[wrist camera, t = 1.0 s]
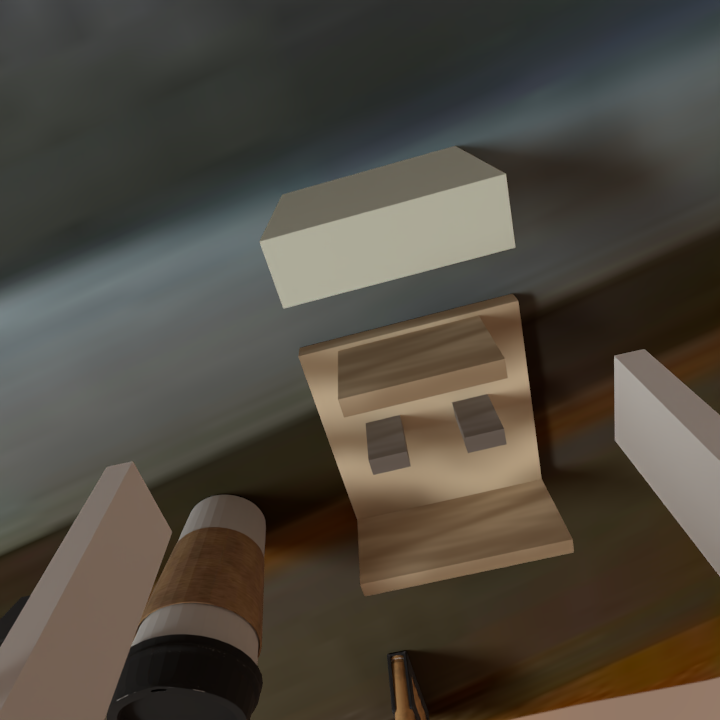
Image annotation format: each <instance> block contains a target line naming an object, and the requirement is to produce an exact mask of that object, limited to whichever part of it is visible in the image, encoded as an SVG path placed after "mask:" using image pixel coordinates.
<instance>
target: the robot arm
mask: <svg viewBox="0 0 720 720" xmlns="http://www.w3.org/2000/svg"><path fill="white" fill-rule="evenodd" d="M614 391H615V441H616V442H617V444H618V445H619V446H620V447H621V449H622V450H623V451H624V453H625V454H626V455H627V457H628V458H629V459H630V460H631V462H632V463H633V464H634V466H635V467H636V468H637V469H638V471H639V472H640V473H641V475H642V476H643V477H644V479H645V480H646V481H647V482H648V484H649V485H650V486H651V488H652V489H653V490H654V492H655V493H656V494H657V495H658V497H659V498H660V499H661V501H662V502H663V503H664V505H665V506H666V507H667V508H668V510H669V511H670V512H671V514H672V515H673V516H674V518H675V519H676V520H677V521H678V523H679V524H680V525H681V527H682V528H683V529H684V530H685V532H686V533H687V534H688V536H689V537H690V538H691V540H692V541H693V542H694V543H695V545H696V546H697V547H698V549H699V550H700V551H701V553H702V554H703V555H704V556H705V558H706V559H707V560H708V562H709V563H710V564H711V566H712V567H713V568H714V569H715V571H716V572H717V573H718V575H719V576H720V415H719V414H718V413H717V412H715V411H714V410H713V409H712V408H711V407H710V406H709V405H707V404H706V403H705V402H704V401H703V400H702V399H701V398H699V397H698V396H697V395H696V394H695V393H694V392H693V391H692V390H690V389H689V388H688V387H687V386H686V385H685V384H684V383H682V382H681V381H680V380H679V379H678V378H677V377H676V376H674V375H673V374H672V373H671V372H670V371H669V370H668V369H666V368H665V367H664V366H663V365H662V364H661V363H660V362H658V361H657V360H656V359H655V358H654V357H653V356H652V355H651V354H649V353H648V352H647V351H646V350H645V349H643V350H638V351H633V352H629V353H624V354H620V355H615V356H614ZM171 534H172V531H171V529H170V527H169V526H168V524H167V522H166V520H165V518H164V517H163V515H162V513H161V511H160V509H159V508H158V506H157V504H156V502H155V500H154V499H153V497H152V495H151V493H150V491H149V490H148V488H147V486H146V484H145V482H144V481H143V479H142V477H141V475H140V473H139V472H138V470H137V468H136V466H135V464H134V463H133V461H131V462H127V463H122V464H118V465H113V466H109V467H106V469H105V470H104V472H103V474H102V476H101V477H100V479H99V481H98V482H97V484H96V486H95V487H94V489H93V491H92V492H91V494H90V496H89V498H88V499H87V501H86V503H85V504H84V506H83V508H82V509H81V511H80V513H79V515H78V516H77V518H76V520H75V521H74V523H73V525H72V526H71V528H70V530H69V531H68V533H67V535H66V537H65V538H64V540H63V542H62V543H61V545H60V547H59V548H58V550H57V552H56V553H55V555H54V557H53V559H52V560H51V562H50V564H49V565H48V567H47V569H46V570H45V572H44V574H43V576H42V577H41V579H40V581H39V582H38V584H37V586H36V587H35V589H34V591H33V592H32V594H31V596H26V597H21V598H20V599H19V601H18V602H17V603H16V604H15V605H14V606H13V607H12V608H11V609H10V610H9V611H8V612H7V613H6V614H5V615H4V616H3V617H2V618H1V619H0V720H104V719H105V717H106V714H107V711H108V708H109V705H110V703H111V700H112V697H113V694H114V692H115V689H116V686H117V683H118V681H119V678H120V675H121V672H122V669H123V667H124V664H125V661H126V658H127V656H128V653H129V650H130V647H131V645H132V642H133V639H134V636H135V633H136V631H137V628H138V625H139V622H140V620H141V617H142V614H143V611H144V609H145V606H146V603H147V600H148V597H149V595H150V592H151V589H152V586H153V584H154V581H155V578H156V575H157V573H158V570H159V567H160V564H161V561H162V559H163V556H164V553H165V550H166V548H167V545H168V542H169V539H170V537H171Z"/></svg>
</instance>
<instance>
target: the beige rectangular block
mask: <svg viewBox="0 0 720 720" xmlns="http://www.w3.org/2000/svg"><path fill="white" fill-rule="evenodd" d="M260 244H261V247H262V250H263V253H264V256H265V258H266V261H267V264H268V267H269V270H270V272H271V275H272V278H273V281H274V284H275V286H276V289H277V292H278V295H279V298H280V300H281V303H282V306H283V308H287V307H291V306H295V305H299V304H302V303H306V302H310V301H314V300H318V299H322V298H325V297H329V296H333V295H337V294H341V293H344V292H348V291H352V290H356V289H360V288H363V287H367V286H371V285H375V284H379V283H382V282H386V281H390V280H394V279H398V278H401V277H405V276H409V275H413V274H417V273H420V272H424V271H428V270H432V269H436V268H440V267H443V266H447V265H451V264H455V263H459V262H462V261H466V260H470V259H474V258H478V257H481V256H485V255H489V254H493V253H497V252H500V251H504V250H508V249H512V248H515V241H514V233H513V225H512V217H511V209H510V202H509V194H508V186H507V178H506V173H504V172H502V171H500V170H498V169H496V168H495V167H493V166H491V165H489V164H487V163H485V162H484V161H482V160H480V159H478V158H476V157H475V156H473V155H471V154H469V153H467V152H465V151H464V150H462V149H460V148H458V147H456V146H453V147H449V148H446V149H442V150H439V151H435V152H432V153H428V154H425V155H421V156H418V157H414V158H410V159H407V160H403V161H400V162H396V163H393V164H389V165H386V166H382V167H379V168H375V169H371V170H368V171H364V172H361V173H357V174H354V175H350V176H347V177H343V178H340V179H336V180H332V181H329V182H325V183H322V184H318V185H315V186H311V187H308V188H304V189H300V190H297V191H293V192H290V193H286V194H283V195H282V196H281V198H280V200H279V202H278V204H277V206H276V208H275V211H274V213H273V215H272V217H271V219H270V221H269V223H268V225H267V227H266V229H265V231H264V233H263V235H262V237H261V239H260Z"/></svg>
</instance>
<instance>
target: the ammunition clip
mask: <svg viewBox="0 0 720 720" xmlns="http://www.w3.org/2000/svg"><path fill="white" fill-rule="evenodd" d="M387 659H388V670H389V681H390V692H391V703H392V712H393V714H394V717H395V720H429V713H428V709H427V707H426V704H425V701H424V698H423V696H422V693H421V690H420V687H419V685H418V682H417V679H416V676H415V673H414V671H413V668H412V665H411V662H410V660H409V657H408V654H407V651H403V652H398V653H393V654H388V655H387Z"/></svg>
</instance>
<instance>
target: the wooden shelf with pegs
mask: <svg viewBox="0 0 720 720" xmlns="http://www.w3.org/2000/svg"><path fill="white" fill-rule="evenodd" d="M299 359H300V362H301V365H302V368H303V370H304V373H305V376H306V379H307V382H308V384H309V387H310V390H311V393H312V395H313V398H314V401H315V404H316V407H317V409H318V412H319V415H320V418H321V420H322V423H323V426H324V429H325V432H326V434H327V437H328V440H329V443H330V446H331V448H332V451H333V454H334V457H335V459H336V462H337V465H338V468H339V471H340V473H341V476H342V479H343V482H344V485H345V487H346V490H347V493H348V496H349V498H350V501H351V504H352V507H353V510H354V512H355V515H356V518H357V523H358V545H359V567H360V585H361V588H362V590H363V593H364V595H365V596H369V595H374V594H379V593H383V592H388V591H393V590H398V589H402V588H407V587H412V586H417V585H421V584H426V583H431V582H435V581H440V580H445V579H450V578H454V577H459V576H464V575H469V574H473V573H478V572H483V571H488V570H492V569H497V568H502V567H507V566H511V565H516V564H521V563H525V562H530V561H535V560H540V559H544V558H549V557H554V556H559V555H563V554H568V553H573V552H574V548H573V539H572V537H571V535H570V533H569V531H568V529H567V527H566V525H565V524H564V522H563V520H562V518H561V516H560V514H559V512H558V510H557V508H556V506H555V504H554V502H553V500H552V498H551V496H550V494H549V492H548V490H547V488H546V486H545V485H544V483H543V481H542V478H541V470H540V462H539V455H538V447H537V439H536V432H535V424H534V416H533V409H532V401H531V393H530V386H529V378H528V371H527V363H526V355H525V348H524V340H523V332H522V325H521V317H520V309H519V302H518V300H517V298H516V297H515V296H514V295H513V294H509V295H505V296H501V297H498V298H494V299H490V300H486V301H482V302H478V303H474V304H470V305H466V306H462V307H458V308H454V309H451V310H447V311H443V312H439V313H435V314H431V315H427V316H423V317H419V318H415V319H411V320H407V321H404V322H400V323H396V324H392V325H388V326H384V327H380V328H376V329H372V330H368V331H364V332H360V333H357V334H353V335H349V336H345V337H341V338H337V339H333V340H329V341H325V342H321V343H317V344H313V345H309V346H306V347H302V348H300V349H299Z"/></svg>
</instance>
